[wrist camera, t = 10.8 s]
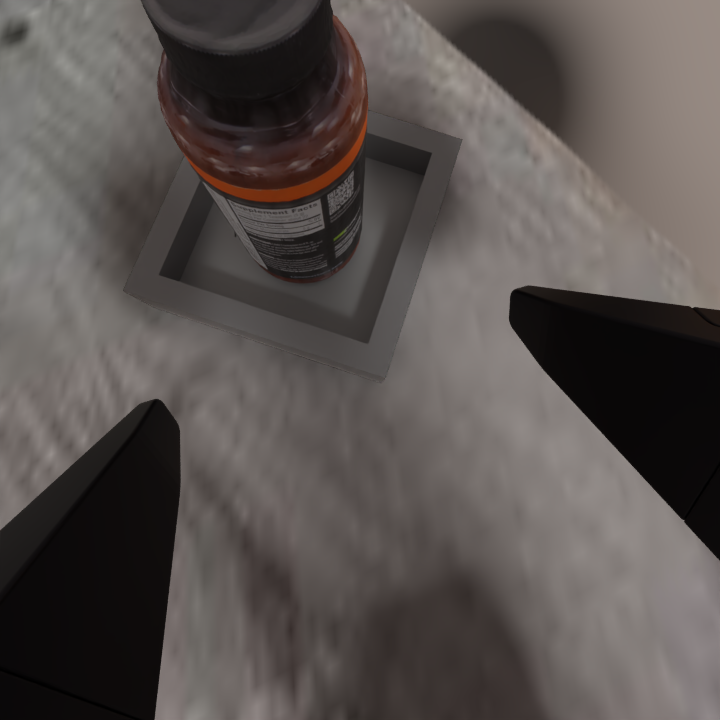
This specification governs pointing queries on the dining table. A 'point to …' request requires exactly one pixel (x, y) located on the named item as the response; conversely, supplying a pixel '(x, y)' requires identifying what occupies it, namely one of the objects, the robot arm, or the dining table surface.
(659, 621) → the dining table surface
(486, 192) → the dining table surface
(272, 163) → the supplement bottle
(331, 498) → the dining table surface
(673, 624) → the dining table surface
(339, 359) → the tray
